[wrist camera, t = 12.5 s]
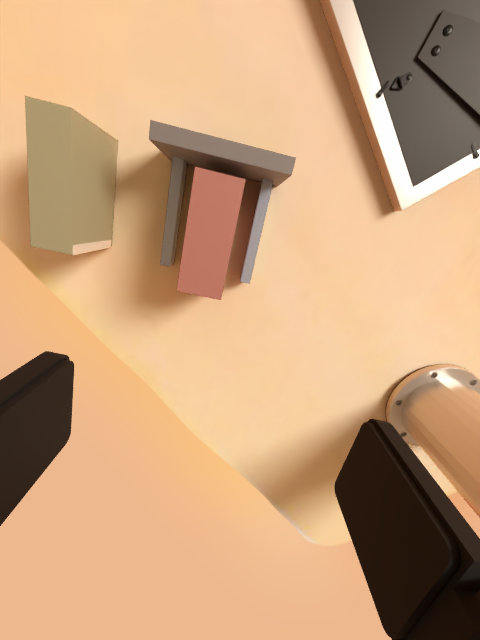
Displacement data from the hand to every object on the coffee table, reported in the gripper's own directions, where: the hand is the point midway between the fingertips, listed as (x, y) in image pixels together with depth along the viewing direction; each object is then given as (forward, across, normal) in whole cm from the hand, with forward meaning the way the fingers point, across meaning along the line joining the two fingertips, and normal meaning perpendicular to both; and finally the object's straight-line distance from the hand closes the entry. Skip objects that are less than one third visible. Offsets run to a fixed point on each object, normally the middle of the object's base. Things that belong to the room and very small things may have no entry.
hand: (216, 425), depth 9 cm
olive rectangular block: (+23, +15, -6) cm, 28 cm away
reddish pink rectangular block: (+24, +3, -5) cm, 24 cm away
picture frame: (+25, -13, -24) cm, 37 cm away
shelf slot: (+23, +3, -6) cm, 24 cm away
